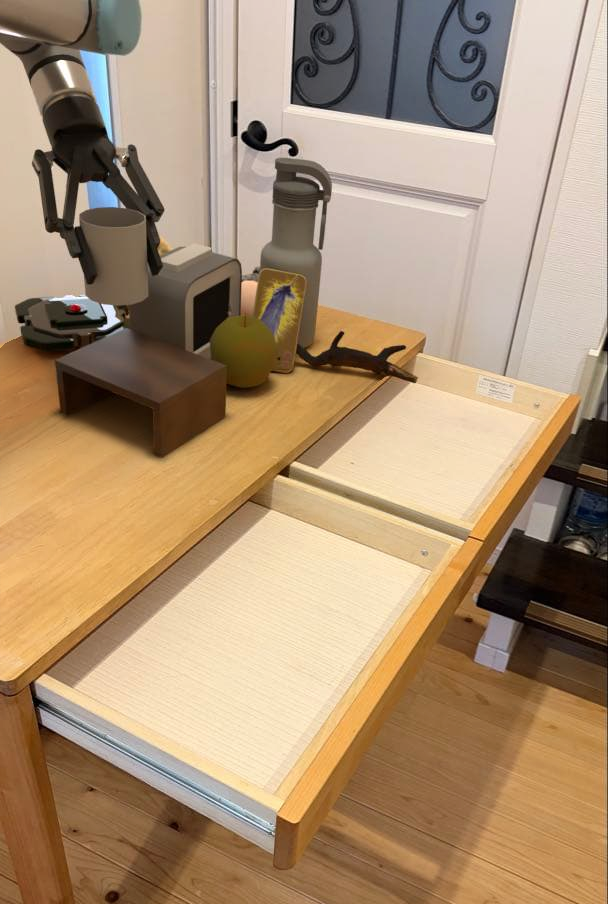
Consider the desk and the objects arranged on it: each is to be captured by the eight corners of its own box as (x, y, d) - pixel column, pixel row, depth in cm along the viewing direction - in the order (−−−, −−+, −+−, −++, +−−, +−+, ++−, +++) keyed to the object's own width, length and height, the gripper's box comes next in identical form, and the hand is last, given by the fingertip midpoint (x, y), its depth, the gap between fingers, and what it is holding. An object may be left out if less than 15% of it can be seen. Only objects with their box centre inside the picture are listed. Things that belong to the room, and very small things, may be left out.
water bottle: (318, 330, 142) (335, 157, 125) (314, 355, 134) (332, 174, 117) (259, 324, 142) (268, 150, 125) (253, 348, 134) (261, 166, 117)
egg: (266, 280, 144) (284, 315, 142) (238, 303, 147) (255, 338, 144) (246, 266, 138) (265, 302, 136) (217, 290, 141) (235, 326, 138)
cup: (86, 281, 113) (80, 206, 107) (146, 281, 115) (144, 207, 108) (85, 305, 106) (78, 227, 100) (149, 305, 108) (146, 228, 102)
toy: (428, 347, 127) (422, 370, 124) (415, 380, 133) (409, 402, 131) (290, 301, 127) (281, 322, 125) (283, 336, 134) (274, 357, 131)
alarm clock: (184, 377, 124) (183, 276, 115) (123, 357, 128) (117, 258, 118) (239, 340, 136) (242, 246, 127) (182, 323, 140) (181, 230, 130)
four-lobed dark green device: (121, 306, 144) (119, 280, 141) (144, 350, 131) (143, 323, 128) (14, 313, 138) (10, 286, 135) (27, 360, 125) (23, 332, 122)
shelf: (161, 457, 107) (159, 403, 102) (60, 413, 113) (54, 360, 109) (225, 416, 116) (226, 365, 111) (129, 378, 123) (126, 327, 118)
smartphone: (259, 266, 125) (259, 267, 126) (244, 365, 127) (244, 366, 128) (308, 275, 126) (307, 276, 127) (292, 374, 128) (292, 374, 129)
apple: (196, 380, 124) (196, 310, 117) (241, 362, 130) (244, 295, 123) (243, 404, 119) (245, 333, 112) (288, 384, 125) (293, 316, 118)
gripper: (137, 125, 115) (190, 277, 114) (-16, 132, 105) (40, 299, 105) (152, 90, 108) (208, 252, 108) (-10, 94, 98) (50, 272, 98)
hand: (125, 275), depth 106 cm, fingers closed on cup, 8 cm apart
